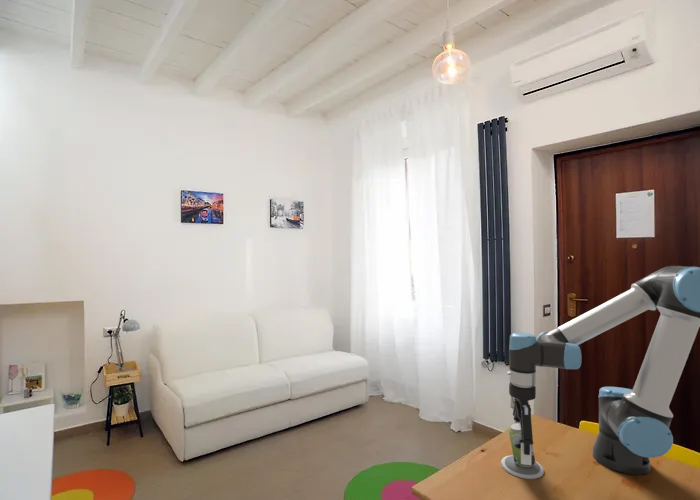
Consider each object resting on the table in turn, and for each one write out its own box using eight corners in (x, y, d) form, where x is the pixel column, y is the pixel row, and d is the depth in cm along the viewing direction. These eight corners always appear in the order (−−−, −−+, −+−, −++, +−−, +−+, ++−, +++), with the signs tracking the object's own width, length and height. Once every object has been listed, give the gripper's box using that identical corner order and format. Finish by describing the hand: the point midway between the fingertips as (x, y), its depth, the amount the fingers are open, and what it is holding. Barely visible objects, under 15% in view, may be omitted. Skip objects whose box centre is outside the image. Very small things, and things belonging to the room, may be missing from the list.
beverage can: (537, 470, 116) (537, 431, 116) (511, 468, 117) (511, 429, 117) (531, 459, 122) (531, 421, 122) (507, 457, 123) (506, 420, 123)
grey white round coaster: (539, 460, 124) (539, 457, 124) (547, 481, 112) (547, 478, 112) (499, 454, 127) (499, 451, 127) (503, 475, 115) (503, 472, 115)
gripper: (504, 370, 132) (504, 432, 133) (515, 397, 108) (515, 472, 108) (527, 372, 131) (527, 435, 131) (544, 400, 107) (544, 477, 107)
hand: (522, 452), depth 120 cm, fingers open, 13 cm apart
